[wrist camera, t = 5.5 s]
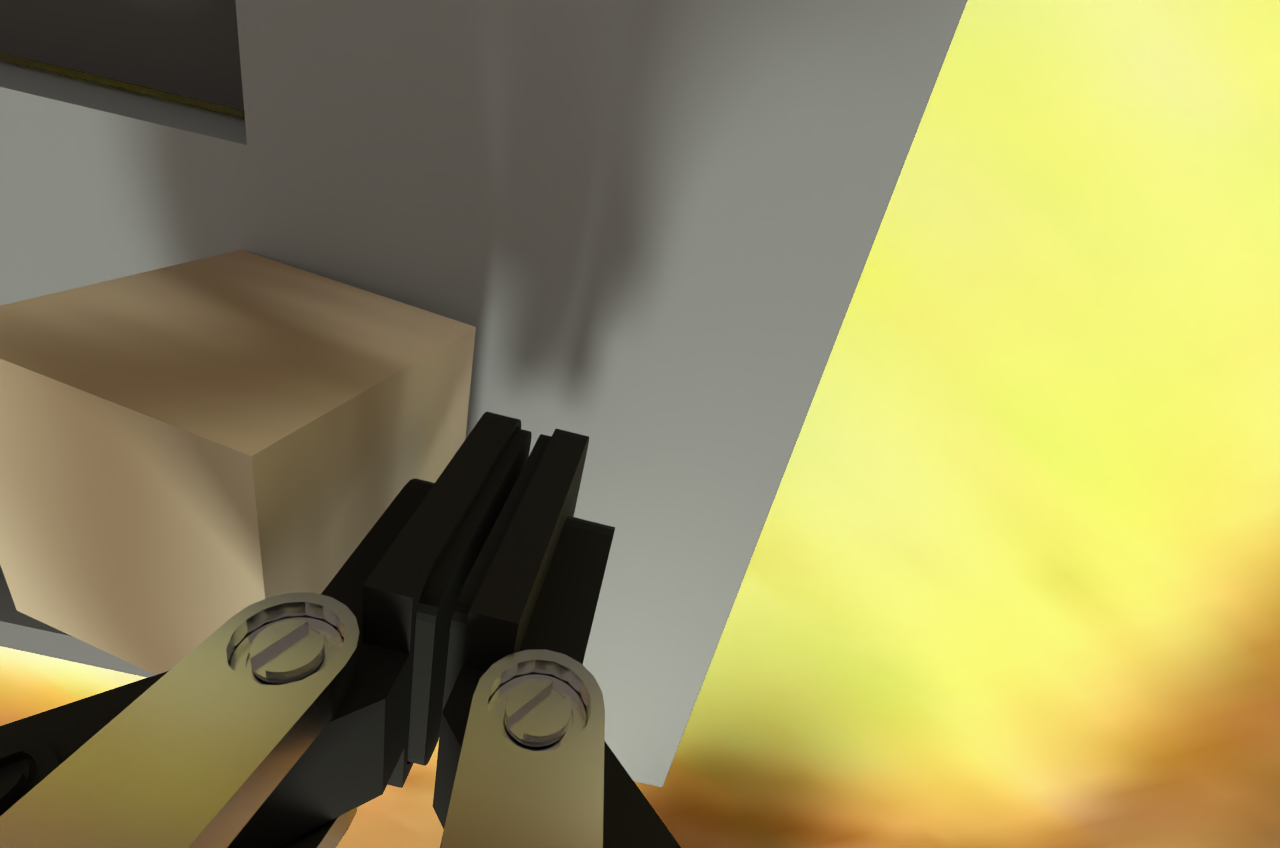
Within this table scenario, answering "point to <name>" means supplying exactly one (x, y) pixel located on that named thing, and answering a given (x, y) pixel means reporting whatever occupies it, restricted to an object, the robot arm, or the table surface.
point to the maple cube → (209, 442)
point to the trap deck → (511, 233)
